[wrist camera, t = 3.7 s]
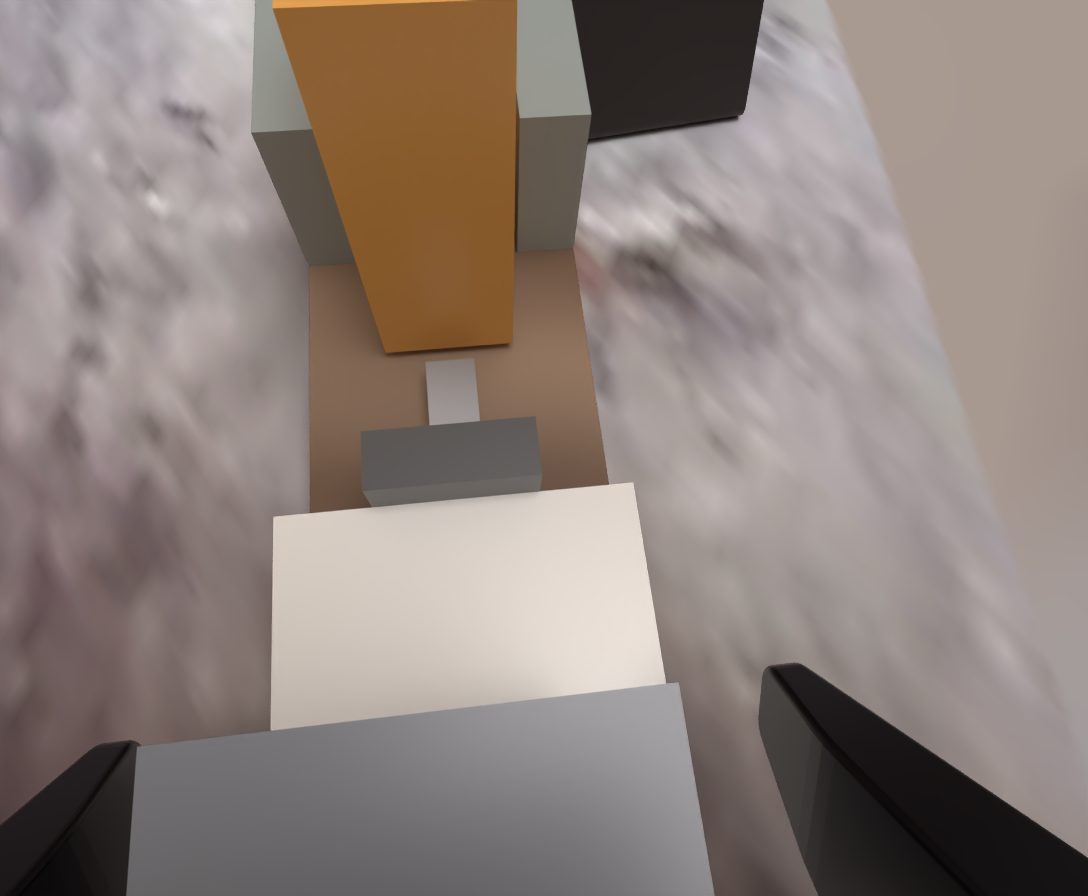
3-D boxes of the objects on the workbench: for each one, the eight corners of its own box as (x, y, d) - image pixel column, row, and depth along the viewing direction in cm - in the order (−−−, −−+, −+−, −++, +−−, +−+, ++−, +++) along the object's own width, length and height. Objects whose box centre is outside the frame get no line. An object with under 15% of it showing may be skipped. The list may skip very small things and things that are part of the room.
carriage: (698, 1010, 11) (1270, 1867, 3) (296, 1074, 11) (-467, 2336, 2) (612, 457, 14) (763, 76, 6) (298, 486, 14) (-28, 116, 5)
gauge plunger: (512, 342, 16) (518, -74, 8) (385, 353, 16) (248, -65, 7) (495, 191, 17) (484, -300, 9) (378, 198, 17) (256, -299, 9)
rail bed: (692, 1134, 13) (728, 1214, 11) (335, 1195, 12) (300, 1291, 10) (549, 157, 20) (554, 91, 18) (323, 170, 19) (300, 104, 17)
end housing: (572, 247, 17) (591, 114, 13) (309, 265, 17) (250, 132, 13) (552, 114, 18) (564, -42, 15) (308, 127, 18) (256, -31, 14)
